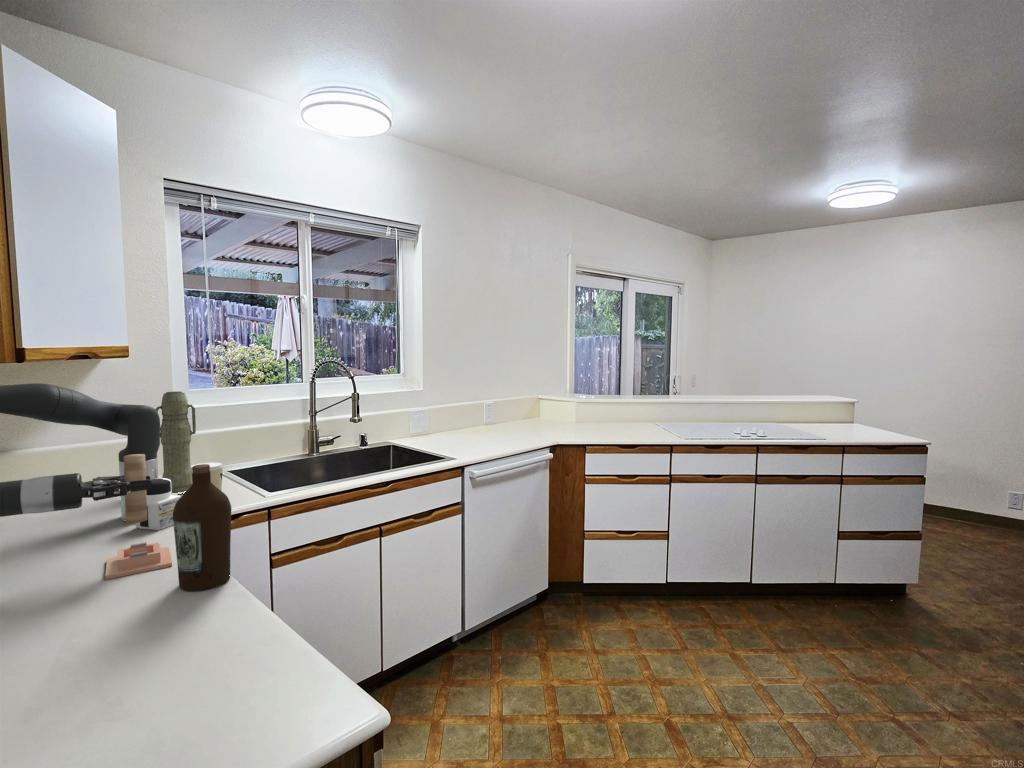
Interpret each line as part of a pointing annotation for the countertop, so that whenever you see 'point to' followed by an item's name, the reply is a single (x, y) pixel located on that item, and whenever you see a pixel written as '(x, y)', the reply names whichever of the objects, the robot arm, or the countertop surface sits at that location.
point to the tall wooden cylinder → (135, 499)
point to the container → (159, 505)
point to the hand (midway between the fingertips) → (150, 482)
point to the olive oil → (202, 533)
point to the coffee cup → (213, 473)
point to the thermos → (176, 439)
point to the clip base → (138, 560)
